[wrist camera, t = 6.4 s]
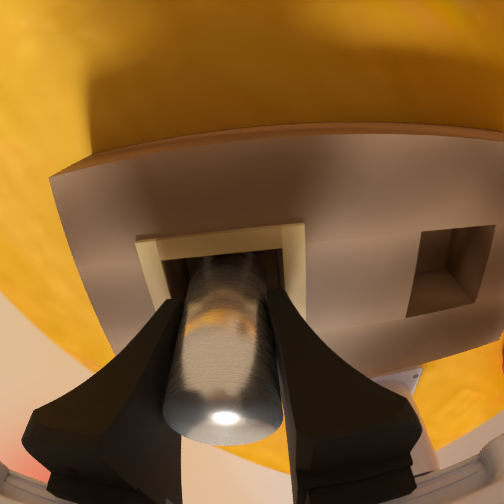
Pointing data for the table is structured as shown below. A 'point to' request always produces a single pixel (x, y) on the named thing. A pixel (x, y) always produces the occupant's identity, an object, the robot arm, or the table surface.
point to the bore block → (305, 230)
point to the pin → (225, 356)
